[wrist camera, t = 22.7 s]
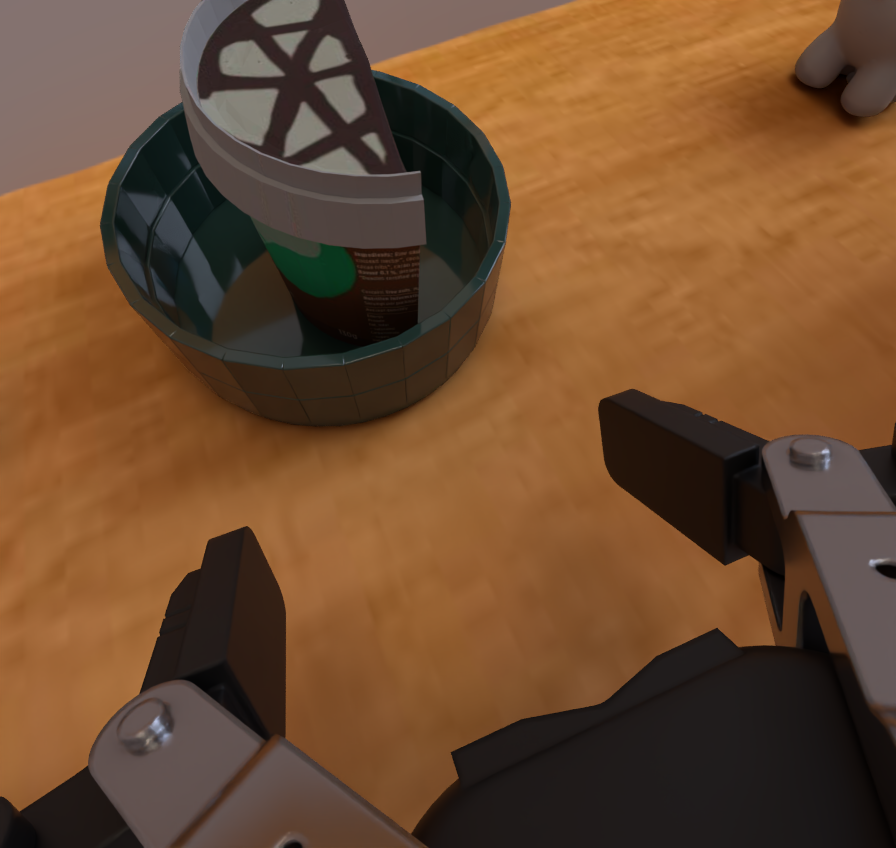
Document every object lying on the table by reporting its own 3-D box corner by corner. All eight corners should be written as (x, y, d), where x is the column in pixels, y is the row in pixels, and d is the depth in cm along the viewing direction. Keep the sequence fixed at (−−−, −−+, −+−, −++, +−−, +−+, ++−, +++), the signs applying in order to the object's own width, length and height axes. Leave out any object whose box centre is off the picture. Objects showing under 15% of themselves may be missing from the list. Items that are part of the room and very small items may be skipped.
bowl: (428, 142, 29) (428, 37, 24) (544, 366, 24) (577, 292, 18) (145, 208, 26) (79, 106, 21) (205, 480, 21) (134, 430, 16)
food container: (244, 195, 26) (143, -50, 17) (363, 174, 27) (330, -70, 17) (285, 407, 21) (178, 233, 12) (426, 373, 22) (427, 187, 13)
